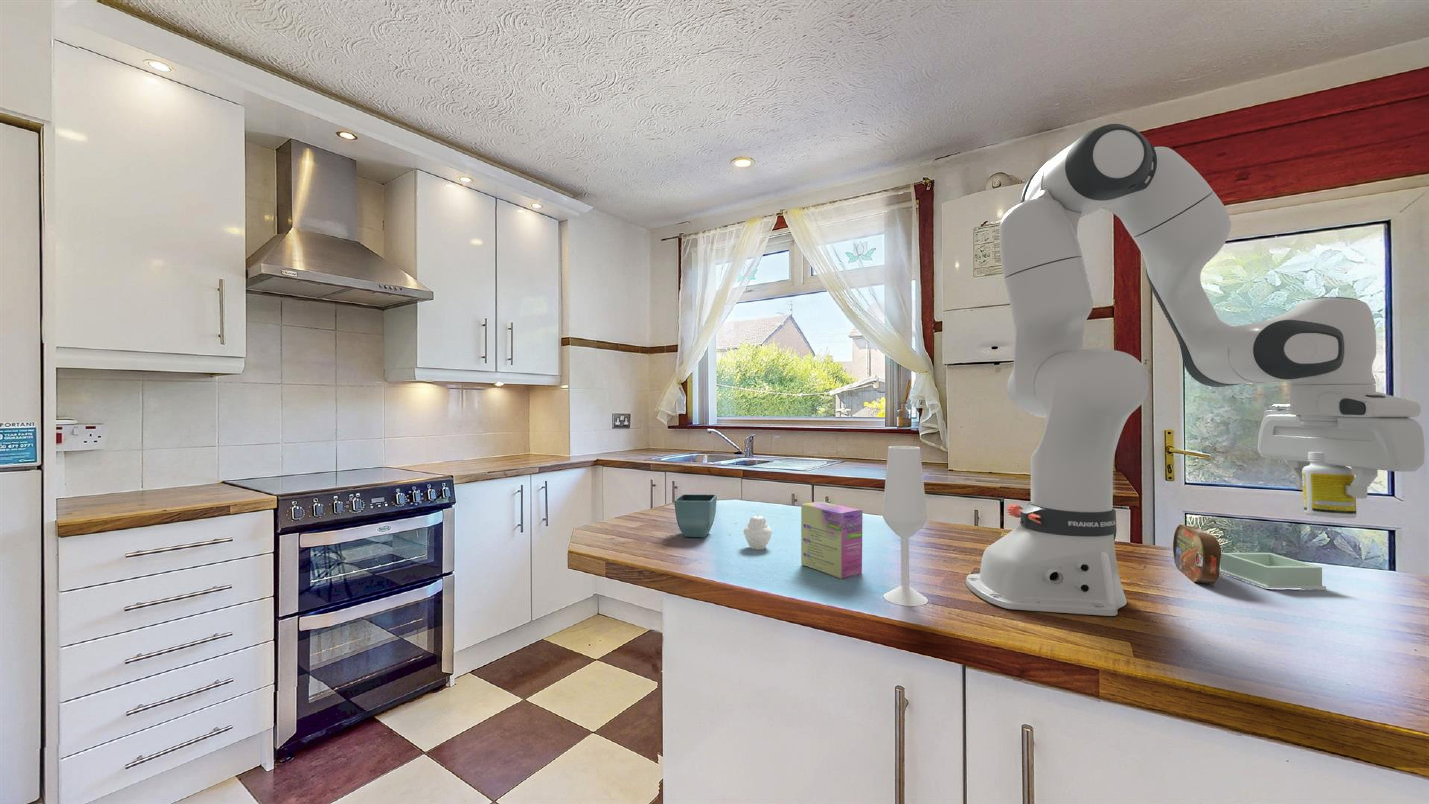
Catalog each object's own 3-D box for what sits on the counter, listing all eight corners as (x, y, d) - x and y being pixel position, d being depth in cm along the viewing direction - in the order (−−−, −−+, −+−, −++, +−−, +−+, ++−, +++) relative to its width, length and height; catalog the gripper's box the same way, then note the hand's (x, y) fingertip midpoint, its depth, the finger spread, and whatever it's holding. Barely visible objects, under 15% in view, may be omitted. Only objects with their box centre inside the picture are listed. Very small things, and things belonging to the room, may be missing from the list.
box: (863, 573, 99) (863, 508, 99) (841, 579, 96) (841, 512, 96) (822, 560, 108) (821, 500, 108) (800, 565, 105) (800, 503, 105)
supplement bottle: (1368, 519, 81) (1364, 453, 81) (1324, 518, 82) (1320, 452, 82) (1335, 514, 86) (1331, 452, 87) (1294, 513, 87) (1290, 451, 88)
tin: (1171, 564, 103) (1170, 519, 103) (1192, 566, 102) (1192, 521, 102) (1200, 589, 90) (1199, 537, 90) (1225, 591, 89) (1224, 539, 89)
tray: (1267, 590, 89) (1267, 568, 89) (1217, 572, 98) (1217, 552, 98) (1326, 590, 88) (1325, 568, 88) (1270, 572, 98) (1270, 552, 98)
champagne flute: (884, 588, 91) (883, 445, 91) (928, 593, 89) (926, 445, 89) (881, 603, 85) (880, 448, 85) (928, 608, 82) (926, 449, 82)
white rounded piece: (757, 542, 122) (757, 511, 122) (778, 547, 117) (777, 515, 117) (737, 547, 118) (737, 515, 118) (758, 553, 113) (758, 519, 113)
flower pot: (673, 539, 125) (673, 500, 125) (682, 530, 134) (681, 493, 134) (711, 540, 124) (711, 501, 124) (717, 531, 133) (717, 494, 133)
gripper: (1246, 403, 95) (1245, 483, 95) (1388, 404, 74) (1387, 506, 74) (1283, 403, 94) (1283, 483, 94) (1436, 404, 74) (1435, 506, 74)
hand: (1330, 493), depth 84 cm, fingers closed on supplement bottle, 5 cm apart
